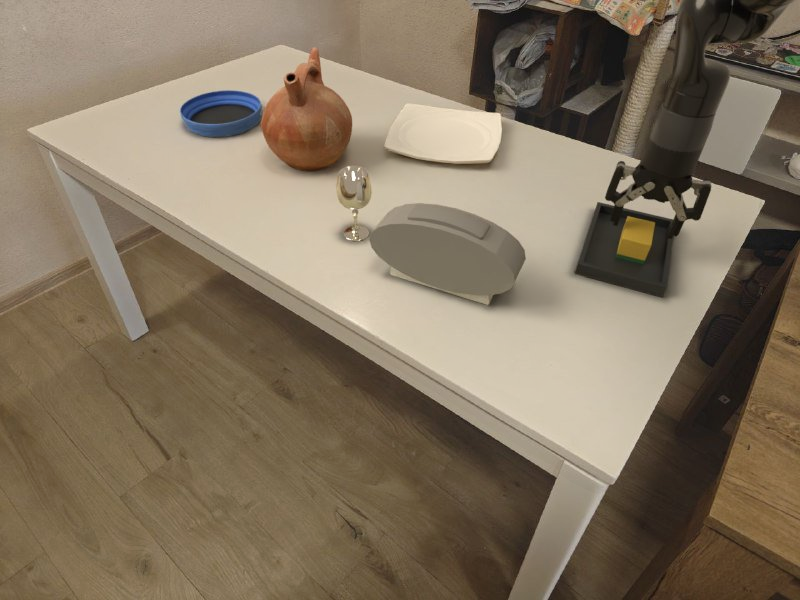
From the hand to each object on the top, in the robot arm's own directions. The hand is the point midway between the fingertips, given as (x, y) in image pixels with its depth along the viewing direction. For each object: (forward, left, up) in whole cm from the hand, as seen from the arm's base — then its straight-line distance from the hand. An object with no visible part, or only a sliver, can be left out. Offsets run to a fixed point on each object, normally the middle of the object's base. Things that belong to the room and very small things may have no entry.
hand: (642, 229), depth 90 cm
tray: (+1, 0, -5) cm, 5 cm away
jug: (+66, -5, -5) cm, 67 cm away
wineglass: (+45, +15, -5) cm, 48 cm away
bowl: (+93, -11, -5) cm, 94 cm away
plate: (+43, -24, -5) cm, 50 cm away
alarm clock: (+27, +20, -5) cm, 34 cm away
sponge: (0, 0, -4) cm, 4 cm away
